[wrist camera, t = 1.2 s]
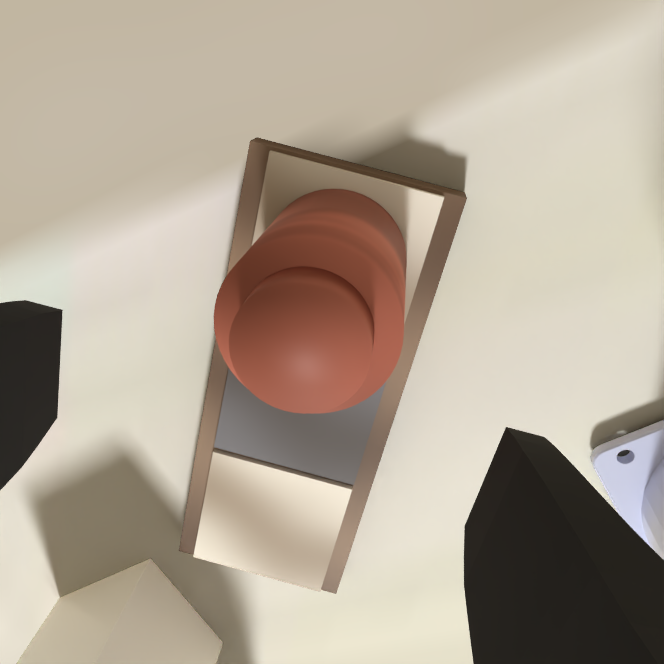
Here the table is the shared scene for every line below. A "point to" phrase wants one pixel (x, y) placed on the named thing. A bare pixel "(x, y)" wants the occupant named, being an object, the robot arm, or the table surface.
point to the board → (306, 429)
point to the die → (124, 624)
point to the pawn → (316, 304)
